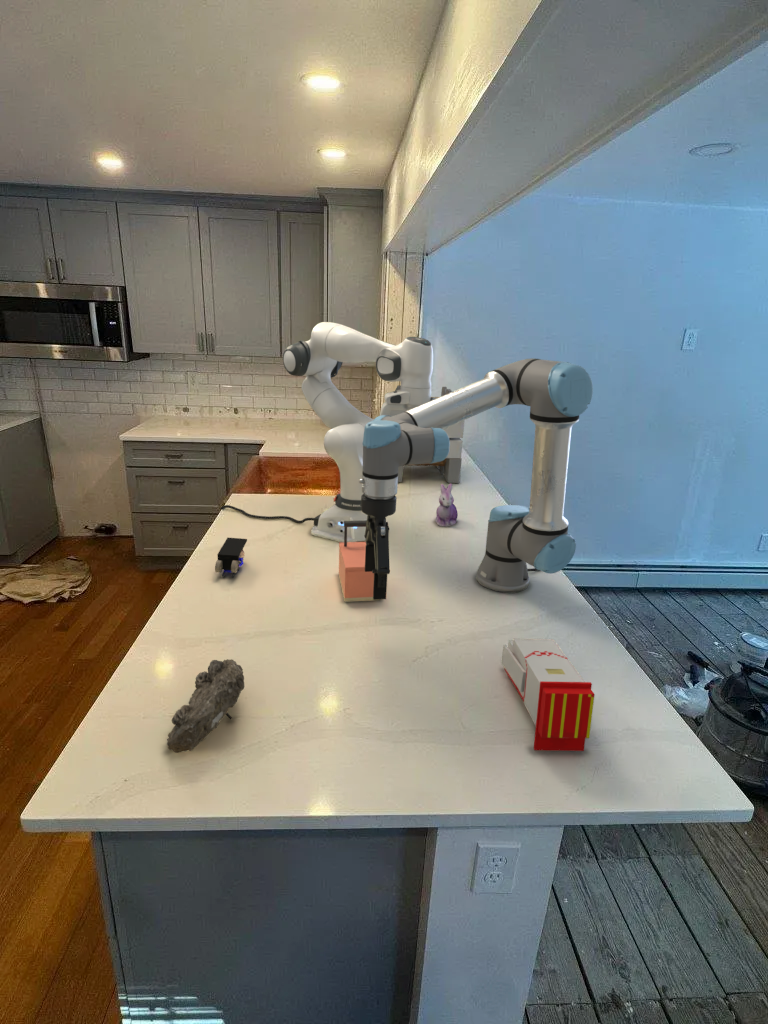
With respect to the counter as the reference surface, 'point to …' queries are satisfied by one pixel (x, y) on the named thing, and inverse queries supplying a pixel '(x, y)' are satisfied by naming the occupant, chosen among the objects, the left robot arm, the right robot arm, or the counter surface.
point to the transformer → (453, 460)
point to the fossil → (206, 705)
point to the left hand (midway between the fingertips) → (412, 444)
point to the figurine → (446, 508)
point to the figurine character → (230, 556)
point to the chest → (355, 583)
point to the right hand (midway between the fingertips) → (374, 584)
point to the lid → (353, 549)
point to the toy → (550, 693)
